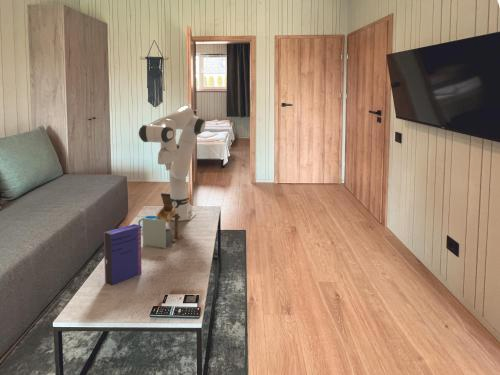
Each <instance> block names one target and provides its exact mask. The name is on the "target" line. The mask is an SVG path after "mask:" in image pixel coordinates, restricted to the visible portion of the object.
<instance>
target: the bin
mask: <svg viewBox="0 0 500 375" xmlns="http://www.w3.org/2000/svg"><path fill="white" fill-rule="evenodd" d="M142 218H143V220H142V227H143V229H142V246H144V247H150V248H156V249H157V248H158V249H162V250H164V249H165V250H166V249H167V247H168V246H170V245H171V244H173V235H174V234H173V228H172V229H171V228H167V224H166V223H167V222H166V221H164V220H156V219H148V218H144V217H142Z"/></svg>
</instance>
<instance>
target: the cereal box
mask: <svg viewBox="0 0 500 375" xmlns="http://www.w3.org/2000/svg"><path fill="white" fill-rule="evenodd" d="M141 226H142V225H141ZM141 226H139V225H138V224H134V223H133V224H129V225H126V226H122V227H119V228H115V229H111V230H107V231H104V232H103V250H104V251H103V252H104V257H103V258H104V283H106V284H108V285H110V286H113V285H114V286H115V285H117V284H118V283H121V282H125V281H127V280H129V279H132V278H135V277H137V276H141V275H142V272H143V271H142V228H141Z"/></svg>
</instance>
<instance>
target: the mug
mask: <svg viewBox="0 0 500 375" xmlns="http://www.w3.org/2000/svg"><path fill="white" fill-rule="evenodd" d="M143 218H148V219H156V220H157V217H156V215H146V216H144V217H142V218H141V219H139V220H138V222H137V223H138V224H137V225H139V226H141V230H143V225H141V222H142V221H143Z"/></svg>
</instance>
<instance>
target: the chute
mask: <svg viewBox="0 0 500 375" xmlns="http://www.w3.org/2000/svg"><path fill="white" fill-rule="evenodd" d="M160 196H161V200H162V203H163V206H162V207H161V208H160V209H159V210H158V212H157V213H158V214H157V213H156V215H155V216H156V217H157V220H164V221H166V223H168V224H169V223H170V222H171V221H172V220H171V219H172V217H173V218H175V216H174V215H175V213H176V209H175V207H174V206H172V202H171V197H170V193H160Z"/></svg>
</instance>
